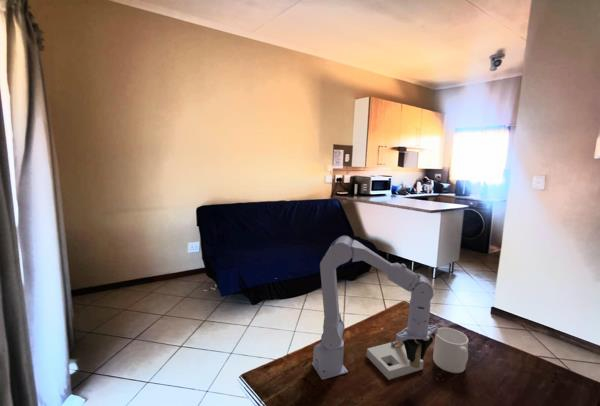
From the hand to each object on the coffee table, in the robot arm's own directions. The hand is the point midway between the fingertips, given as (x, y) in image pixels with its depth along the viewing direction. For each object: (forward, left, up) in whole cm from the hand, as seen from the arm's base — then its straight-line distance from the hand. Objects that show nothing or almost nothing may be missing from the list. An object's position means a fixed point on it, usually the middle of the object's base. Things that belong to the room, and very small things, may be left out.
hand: (414, 358), depth 90 cm
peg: (0, 0, -2) cm, 2 cm away
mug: (+19, +2, -9) cm, 21 cm away
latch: (+6, +11, -3) cm, 13 cm away
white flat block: (+2, +10, -9) cm, 14 cm away
